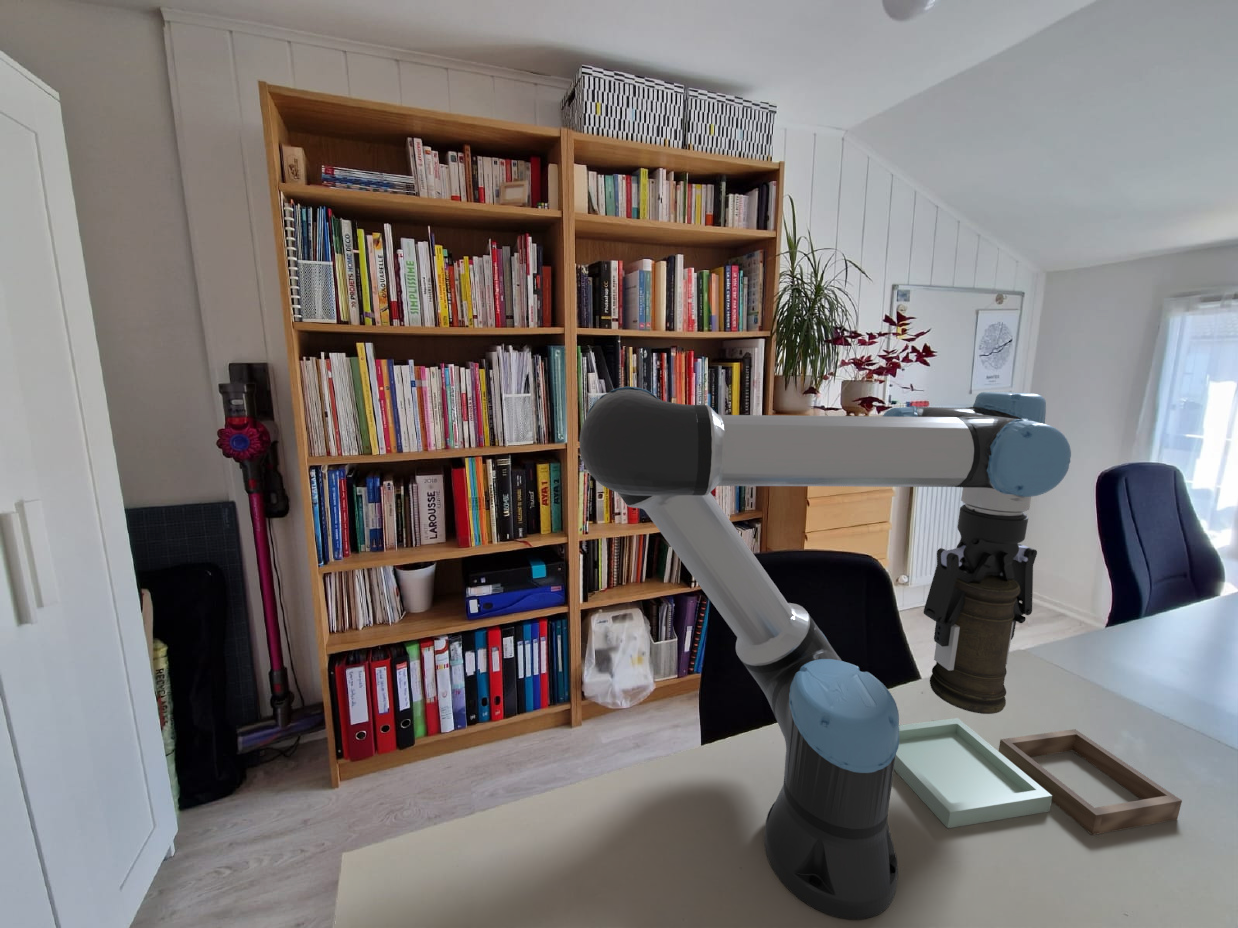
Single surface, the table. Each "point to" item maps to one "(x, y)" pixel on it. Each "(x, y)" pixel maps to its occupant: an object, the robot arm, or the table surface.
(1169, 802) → the wooden picture frame
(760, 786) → the table surface
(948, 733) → the tray
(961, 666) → the container
